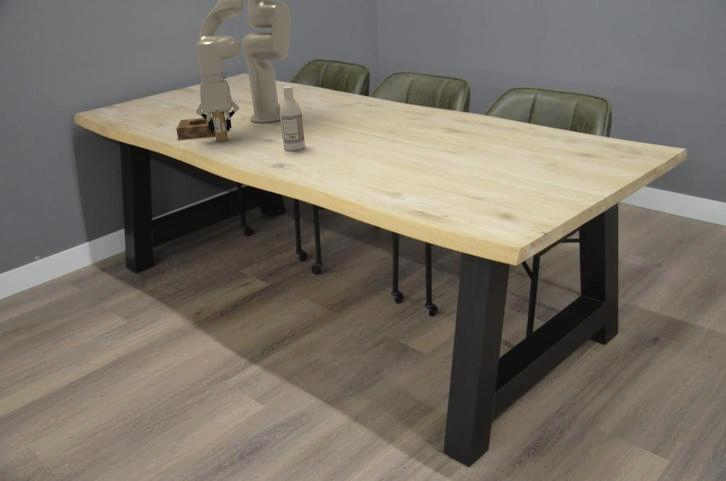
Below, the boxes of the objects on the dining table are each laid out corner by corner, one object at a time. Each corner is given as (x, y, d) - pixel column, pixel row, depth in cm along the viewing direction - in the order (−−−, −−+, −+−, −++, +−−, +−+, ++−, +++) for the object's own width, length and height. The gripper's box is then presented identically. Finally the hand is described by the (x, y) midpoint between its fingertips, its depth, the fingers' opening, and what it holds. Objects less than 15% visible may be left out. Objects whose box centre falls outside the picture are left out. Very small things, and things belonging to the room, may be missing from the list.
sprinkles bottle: (231, 139, 250) (225, 101, 244) (218, 142, 247) (212, 104, 242) (225, 137, 253) (219, 99, 248) (213, 140, 251) (207, 101, 245)
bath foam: (307, 149, 233) (301, 87, 225) (287, 152, 231) (279, 90, 223) (301, 143, 239) (295, 83, 231) (281, 147, 237) (274, 86, 229)
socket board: (220, 127, 267) (219, 116, 265) (218, 135, 256) (216, 124, 254) (182, 130, 266) (180, 120, 264) (178, 139, 255) (176, 128, 253)
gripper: (238, 73, 245) (246, 125, 253) (188, 78, 244) (197, 130, 252) (237, 78, 239) (244, 131, 246) (185, 82, 238) (194, 136, 245)
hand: (220, 130), depth 249 cm, fingers open, 4 cm apart
